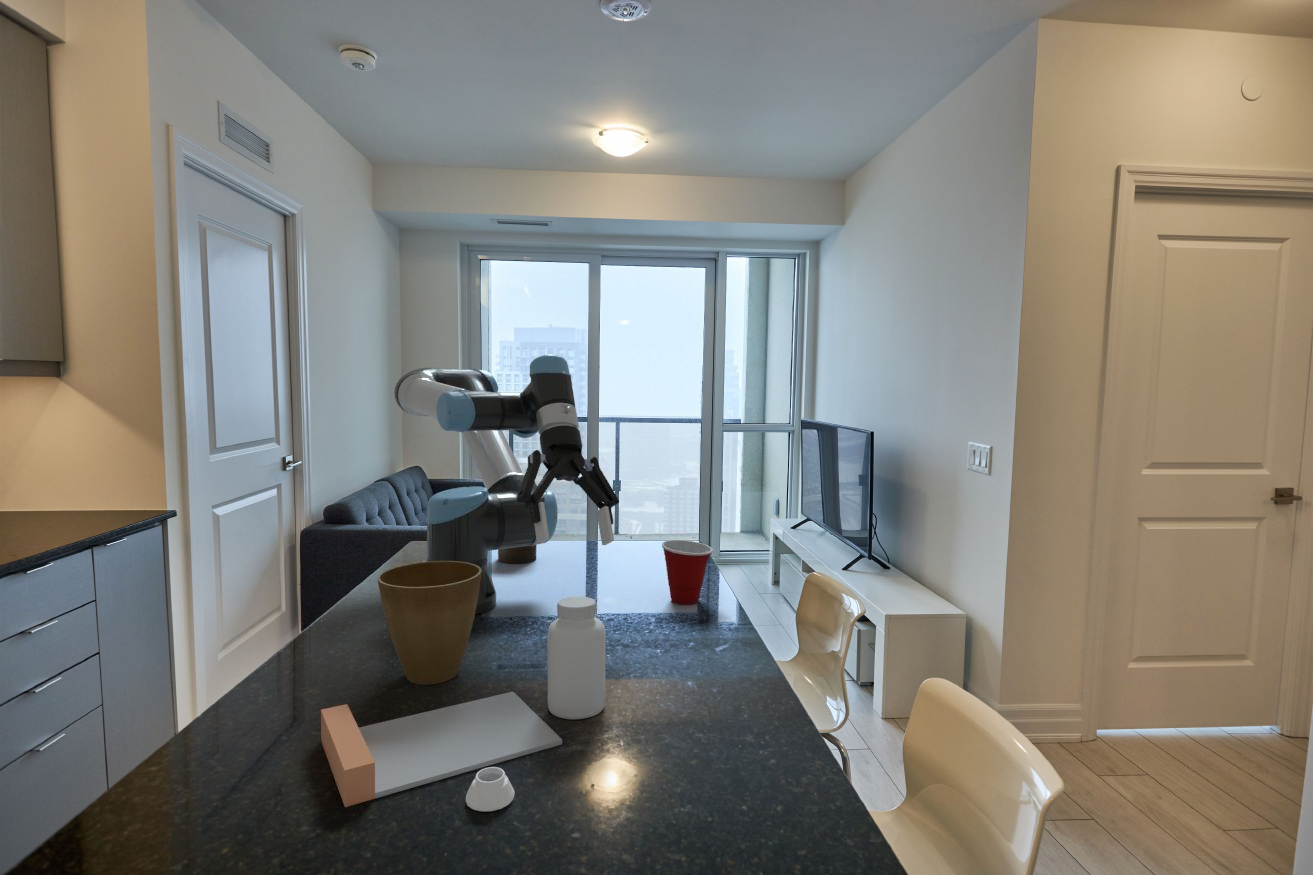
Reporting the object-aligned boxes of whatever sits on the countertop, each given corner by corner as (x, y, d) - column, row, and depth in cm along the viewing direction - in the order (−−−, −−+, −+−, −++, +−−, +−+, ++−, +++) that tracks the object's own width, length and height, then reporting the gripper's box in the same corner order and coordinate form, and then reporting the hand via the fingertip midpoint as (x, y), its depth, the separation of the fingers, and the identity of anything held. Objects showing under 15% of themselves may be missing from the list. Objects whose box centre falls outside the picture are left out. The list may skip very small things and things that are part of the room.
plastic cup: (708, 611, 140) (709, 552, 139) (655, 606, 142) (656, 548, 141) (714, 595, 151) (716, 540, 150) (665, 591, 153) (666, 537, 152)
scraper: (321, 740, 86) (320, 709, 86) (512, 695, 100) (513, 668, 100) (344, 806, 73) (344, 770, 73) (562, 744, 87) (562, 712, 86)
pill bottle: (548, 695, 100) (550, 593, 99) (604, 694, 101) (606, 592, 100) (544, 721, 92) (545, 610, 91) (605, 720, 93) (607, 610, 92)
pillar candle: (532, 564, 174) (533, 504, 173) (493, 563, 174) (494, 503, 173) (539, 555, 183) (540, 498, 182) (502, 554, 183) (503, 497, 183)
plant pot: (451, 649, 117) (451, 555, 116) (499, 676, 106) (500, 573, 105) (361, 673, 106) (361, 570, 105) (405, 706, 96) (404, 592, 95)
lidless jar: (462, 815, 72) (510, 814, 73) (462, 788, 72) (511, 787, 72) (470, 788, 77) (516, 786, 78) (470, 762, 77) (516, 761, 77)
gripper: (509, 414, 119) (524, 532, 111) (624, 431, 135) (645, 536, 127) (488, 433, 124) (501, 548, 116) (602, 448, 140) (620, 549, 132)
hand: (576, 542), depth 121 cm, fingers open, 13 cm apart
